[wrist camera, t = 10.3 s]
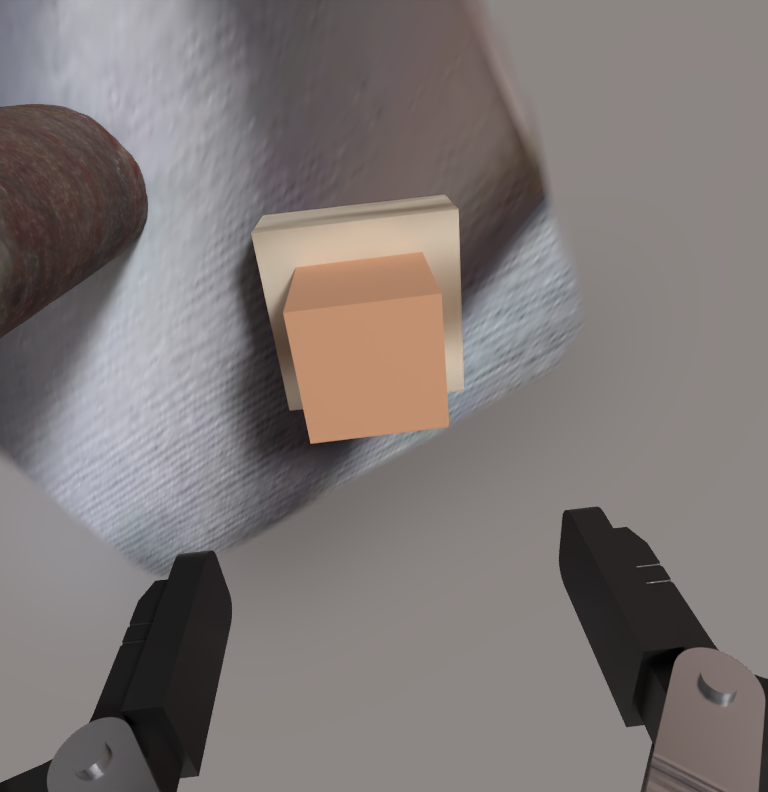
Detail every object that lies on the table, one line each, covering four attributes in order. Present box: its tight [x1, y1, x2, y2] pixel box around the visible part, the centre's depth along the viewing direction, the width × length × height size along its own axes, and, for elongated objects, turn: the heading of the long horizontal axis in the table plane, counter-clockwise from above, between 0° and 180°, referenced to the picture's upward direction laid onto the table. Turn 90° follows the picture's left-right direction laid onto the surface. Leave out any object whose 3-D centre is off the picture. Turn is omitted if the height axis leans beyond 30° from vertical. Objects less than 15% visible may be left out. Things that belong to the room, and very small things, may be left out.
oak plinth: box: [251, 194, 464, 411], centre depth 29 cm, size 10×10×4 cm
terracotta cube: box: [283, 252, 449, 444], centre depth 25 cm, size 6×6×6 cm
